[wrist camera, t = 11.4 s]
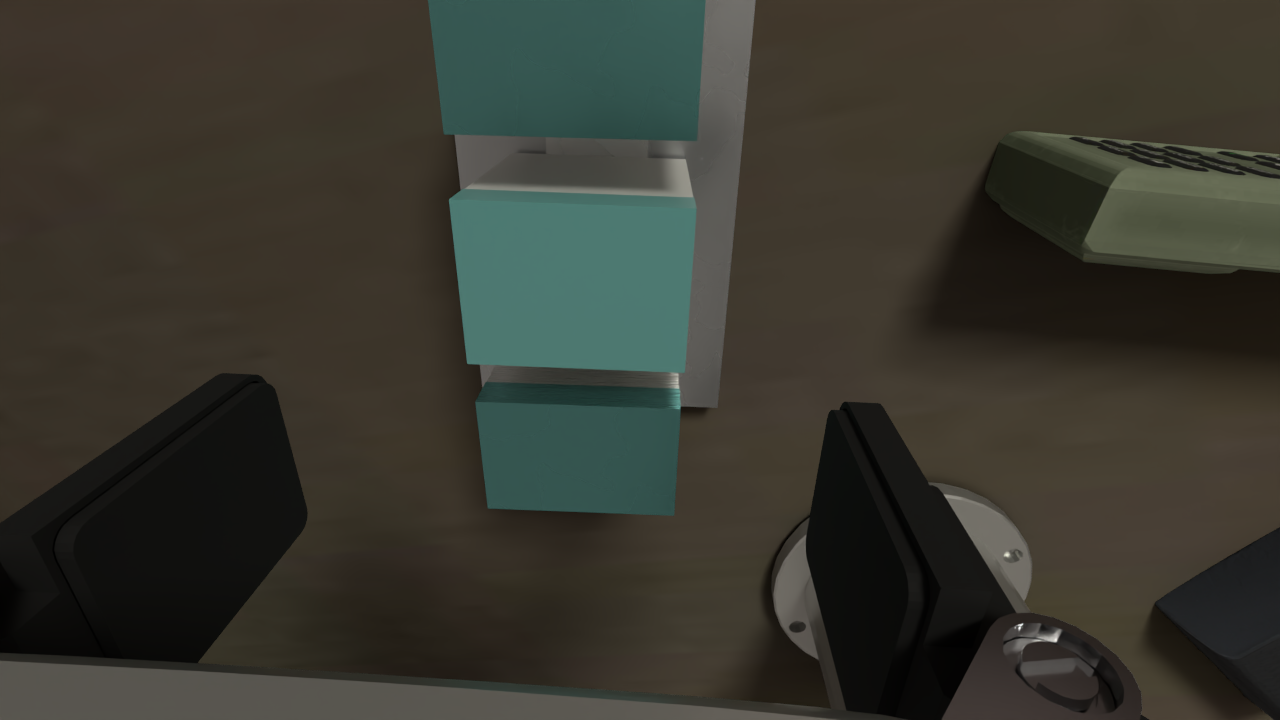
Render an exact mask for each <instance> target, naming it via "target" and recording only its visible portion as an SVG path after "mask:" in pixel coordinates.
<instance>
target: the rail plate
mask: <svg viewBox="0 0 1280 720" xmlns="http://www.w3.org/2000/svg"><path fill="white" fill-rule="evenodd" d="M428 3H429V12H430V20H431V29H432V37H433V46H434V54H435V63H436V71H437V80H438V88H439V97H440V105H441V114H442V122H443V131H444V134H449V135H455V143H456V152H457V161H458V170H459V179H460V188H461V190H462V189H465V188H467V187H468V186H469V185H471V184H472V183H473V182H474V181H476V180H477V179H478V178H480V177H481V176H482V175H484V174H485V173H486V172H488V171H489V170H490V169H492V168H493V167H494V166H496V165H497V164H498V163H500V162H501V161H502V160H503V159H505V158H506V157H507V156H509V155H510V154H511V153H530V154H557V155H584V156H611V157H639V158H666V159H686V163H687V168H688V173H689V178H690V183H691V188H692V193H693V197H694V198H695V203H696V208H697V212H696V225H695V239H694V253H693V267H692V281H691V294H690V308H689V322H688V336H687V350H686V363H685V373H674V372H650V371H626V370H601V369H577V368H553V367H529V366H505V365H481V364H480V370H481V379H482V390H481V392H480V394H479V396H478V398H477V400H476V402H475V403H476V412H477V420H478V429H479V437H480V446H481V454H482V463H483V471H484V480H485V488H486V497H487V505H488V508H489V509H515V510H541V511H567V512H594V513H620V514H646V515H672V516H674V509H675V493H676V476H677V460H678V444H679V428H680V411H681V406H686V407H714V408H717V407H718V396H719V385H720V374H721V364H722V353H723V342H724V332H725V321H726V310H727V300H728V289H729V278H730V267H731V257H732V246H733V235H734V225H735V214H736V203H737V192H738V182H739V171H740V160H741V150H742V139H743V128H744V117H745V107H746V96H747V85H748V75H749V64H750V53H751V42H752V32H753V21H754V10H755V0H428Z"/></svg>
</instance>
